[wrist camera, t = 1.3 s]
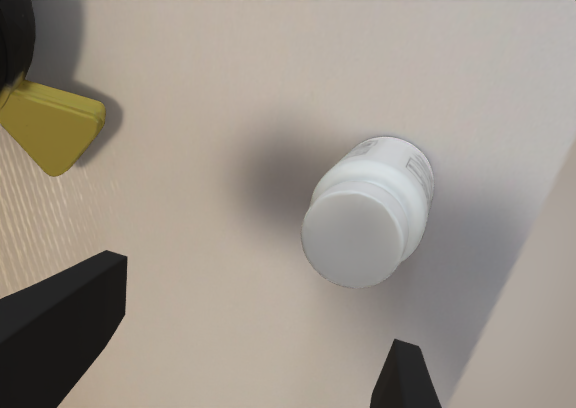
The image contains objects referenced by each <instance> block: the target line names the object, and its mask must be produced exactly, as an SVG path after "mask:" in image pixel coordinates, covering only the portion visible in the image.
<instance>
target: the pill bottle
mask: <svg viewBox="0 0 576 408" xmlns="http://www.w3.org/2000/svg"><path fill="white" fill-rule="evenodd" d="M433 192H434V177H433V172H432V169H431V166H430V164H429V162H428V161H427V159H426V157H425V156H424V155H423V154H422V152H421V151H420V150H418V149H417V148H416V147H415V146H413V145H412V144H410V143H408V142H406V141H404V140H401V139H398V138H393V137H377V138H372V139H369V140H366V141H364V142H362V143H360V144H359V145H357V146H356V147H354V148H353V149H352V150H351V151H350V152H349V153H348V154H347V155H345V156H344V157H343V158H342V159H341V160H340V161H339V162H338V163H337V164H336V165H334V166H333V167H332V168H331V169H330V170H329V171H328V172H327V173H326V174H325V175H324V176H323V177H322V179H321V180H320V181H319V183H318V184H317V186H316V188H315V190H314V192H313V195H312V198H311V203H310V208H309V210H308V211H307V213H306V215H305V217H304V220H303V223H302V227H301V243H302V247H303V251H304V253H305V256H306V258H307V259H308V261H309V263H310V264H311V265H312V267H313V268H314V269H315V270H316V271H317V272H318V273H319V274H320V275H321V276H323V277H324V278H325V279H327V280H328V281H330V282H332V283H335V284H337V285H340V286H343V287H348V288H367V287H370V286H374V285H376V284H378V283H381V282H382V281H384V280H385V279H387V278H388V277H389V276H390V275H391V274H392V273H393V272H394V271H395V269H396V268H397V267H398V265H399V264H400V263H401V262H403V261H404V260H406V259H407V258H408V257H409V256H410V255H411V254H412V253H413V252H414V251H415V249H416V248H417V247H418V245H419V243H420V241H421V239H422V237H423V234H424V231H425V228H426V223H427V219H428V215H429V210H430V206H431V202H432V198H433Z"/></svg>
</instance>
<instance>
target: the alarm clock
mask: <svg viewBox="0 0 576 408" xmlns="http://www.w3.org/2000/svg"><path fill="white" fill-rule="evenodd" d="M34 42H35V19H34V13H33V8H32V3H31V0H0V124H1V125H2V126H3V127H4V128H5V129H6V130H7V131H8V133H9V134H10V135H11V136H12V137H13V138H14V139H15V140H16V141H17V142H18V143H19V144H20V145H21V147H22V148H23V149H24V150H25V151H26V152H27V153H28V154H29V155H30V157H31V158H32V159H33V160H34V161H35V162H36V163H37V164H38V165H39V166H40V167H41V169H42V170H43V171H44V172H45V173H47V174H48V175H49V176H53V177H55V176H59V175H62V174H63V173H64V172H66V171H67V170H68V169H70V168H71V166H72V165H73V164H74V163H75V162H76V161H77V160H78V159H79V157H80V156H81V155H82V154H83V153H84V151H85V150H86V149H87V148H88V146H89V145H90V144H91V142H92V141H93V140H94V139H95V137H96V136H97V135H98V133H99V132H100V130H101V129H102V128H103V126H104V124H105V115H106V109H105V107H104V104H102V103H101V102H100V101H96V100H93V99H90V98H87V97H83V96H79V95H76V94H73V93H69V92H66V91H62V90H59V89H55V88H52V87H48V86H44V85H41V84H38V83H34V82H31V81H28V80H25V77H26V74H27V72H28V69H29V67H30V64H31V61H32V57H33V50H34Z"/></svg>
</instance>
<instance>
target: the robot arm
mask: <svg viewBox="0 0 576 408" xmlns="http://www.w3.org/2000/svg"><path fill="white" fill-rule="evenodd" d="M126 281H127V256H124V255H121V254H117V253H114V252H111V251H108V250H106V251H103V252H101V253H99V254H97V255H95V256H93V257H91V258H89V259H86V260H84V261H82V262H80V263H78V264H76V265H74V266H72V267H70V268H68V269H66V270H64V271H62V272H60V273H58V274H56V275H53V276H51V277H49V278H47V279H45V280H43V281H41V282H39V283H37V284H34V285H32V286H30V287H28V288H25V289H23V290H20V291H18V292H16V293H13V294H11V295H9V296H6V297H4V298H2V299H0V408H57V407H58V405H59V404H60V403H61V402H62V400H63V399H64V398H65V397H66V395H67V394H68V393H69V392H70V391H71V389H72V388H73V387H74V386H75V384H76V383H77V382H78V381H79V379H80V378H81V377H82V376H83V374H84V373H85V372H86V371H87V370H88V368H89V367H90V366H91V365H92V363H93V362H94V361H95V359H96V358H97V357H98V356H99V354H100V353H101V352H102V351H103V349H104V348H105V347H106V345H107V344H108V342H109V340H110V339H111V337H112V336H113V334H114V333H115V331H116V329H117V327H118V326H119V324H120V322H121V321H122V319H123V317H124V316H125V306H126ZM370 408H442V407H441V405H440V402H439V400H438V397H437V394H436V392H435V389H434V386H433V384H432V381H431V378H430V375H429V373H428V370H427V367H426V364H425V361H424V358H423V354H422V351H421V349H420V348H419V346H416V345H413V344H410V343H407V342H403V341H400V340H397V339H394V341H393V344H392V346H391V349H390V351H389V354H388V356H387V358H386V361H385V363H384V366H383V368H382V371H381V373H380V376H379V378H378V380H377V383H376V385H375V388H374V390H373V393H372V397H371V403H370Z"/></svg>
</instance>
